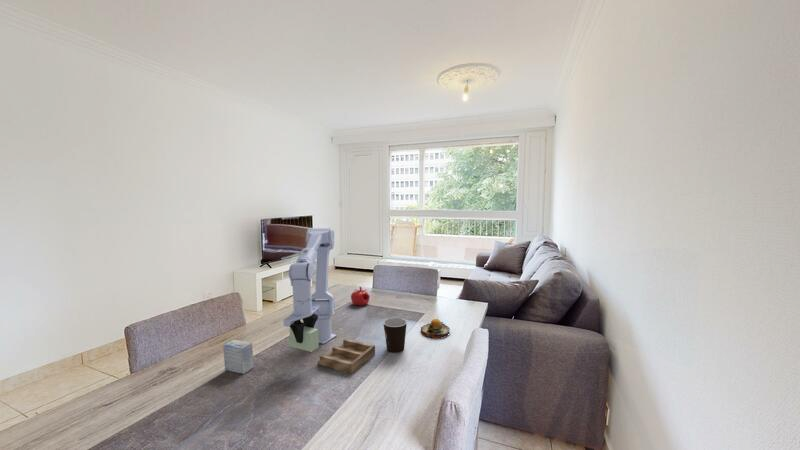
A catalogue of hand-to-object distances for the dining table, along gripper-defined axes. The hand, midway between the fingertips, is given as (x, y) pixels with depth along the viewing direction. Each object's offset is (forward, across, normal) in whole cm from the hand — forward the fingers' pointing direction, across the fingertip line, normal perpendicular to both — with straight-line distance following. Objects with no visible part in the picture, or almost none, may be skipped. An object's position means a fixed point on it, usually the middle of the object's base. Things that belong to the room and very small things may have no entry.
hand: (304, 339), depth 99 cm
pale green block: (+2, 0, 0) cm, 2 cm away
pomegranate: (+10, -60, -19) cm, 64 cm away
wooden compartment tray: (+9, -10, +9) cm, 17 cm away
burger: (+10, -43, +30) cm, 53 cm away
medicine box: (+10, +10, -19) cm, 24 cm away
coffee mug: (+10, -25, +21) cm, 34 cm away
